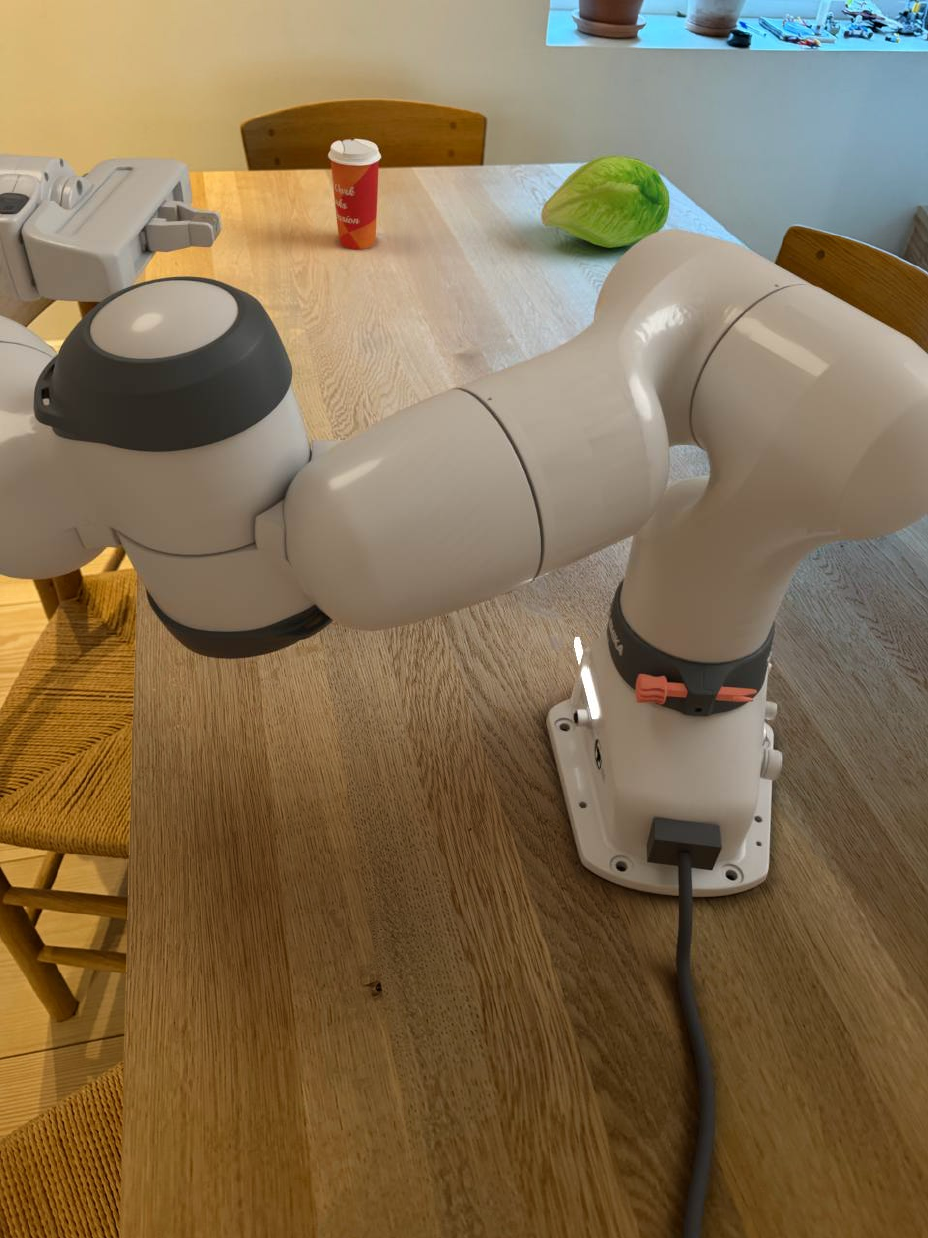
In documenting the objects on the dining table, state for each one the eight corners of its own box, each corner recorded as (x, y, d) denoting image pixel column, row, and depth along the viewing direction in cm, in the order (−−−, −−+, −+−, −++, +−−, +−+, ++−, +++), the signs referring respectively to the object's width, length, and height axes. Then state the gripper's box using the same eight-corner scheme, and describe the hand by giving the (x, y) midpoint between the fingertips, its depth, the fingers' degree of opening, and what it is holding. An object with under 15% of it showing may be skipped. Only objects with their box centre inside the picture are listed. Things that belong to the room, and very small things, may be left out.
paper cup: (325, 235, 150) (320, 139, 140) (371, 229, 152) (369, 135, 142) (342, 255, 145) (338, 157, 135) (389, 248, 147) (389, 152, 137)
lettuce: (528, 226, 156) (536, 137, 147) (646, 223, 159) (661, 136, 150) (550, 266, 145) (560, 173, 136) (676, 263, 148) (694, 171, 139)
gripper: (98, 207, 86) (250, 218, 86) (5, 311, 71) (188, 325, 71) (82, 132, 82) (242, 143, 82) (-21, 227, 67) (174, 241, 67)
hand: (216, 229), depth 76 cm, fingers closed
